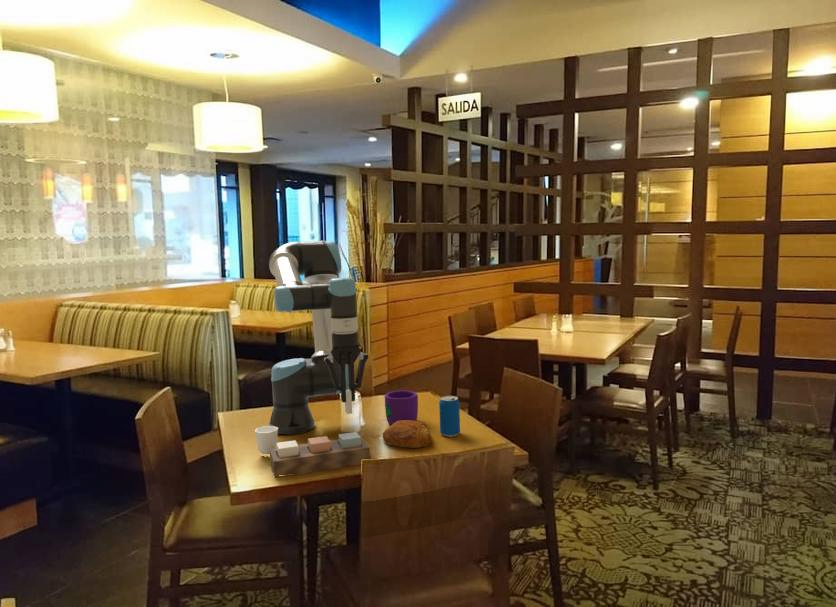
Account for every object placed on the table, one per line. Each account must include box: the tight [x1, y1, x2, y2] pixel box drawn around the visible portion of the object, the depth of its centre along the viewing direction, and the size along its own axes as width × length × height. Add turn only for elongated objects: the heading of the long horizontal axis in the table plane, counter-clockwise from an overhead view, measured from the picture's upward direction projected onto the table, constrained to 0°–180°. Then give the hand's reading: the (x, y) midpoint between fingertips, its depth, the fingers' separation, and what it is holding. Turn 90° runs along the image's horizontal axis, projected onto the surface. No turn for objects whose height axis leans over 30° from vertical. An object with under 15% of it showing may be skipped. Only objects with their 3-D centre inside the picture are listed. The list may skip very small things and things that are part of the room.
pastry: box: [382, 420, 433, 449], centre depth 199 cm, size 14×16×8 cm
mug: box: [384, 389, 419, 426], centre depth 222 cm, size 17×11×10 cm, turn 26°
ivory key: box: [276, 439, 299, 458], centre depth 180 cm, size 5×5×4 cm
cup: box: [254, 425, 279, 454], centre depth 192 cm, size 7×10×8 cm
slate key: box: [338, 431, 362, 449], centre depth 185 cm, size 5×5×4 cm
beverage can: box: [438, 395, 461, 438], centre depth 204 cm, size 6×6×12 cm
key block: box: [269, 435, 371, 477], centre depth 183 cm, size 27×11×4 cm, turn 109°
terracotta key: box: [307, 435, 330, 453], centre depth 182 cm, size 5×5×4 cm
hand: (348, 412), depth 184 cm, fingers closed
